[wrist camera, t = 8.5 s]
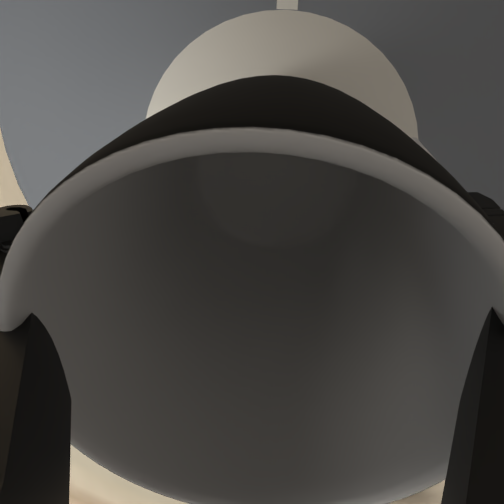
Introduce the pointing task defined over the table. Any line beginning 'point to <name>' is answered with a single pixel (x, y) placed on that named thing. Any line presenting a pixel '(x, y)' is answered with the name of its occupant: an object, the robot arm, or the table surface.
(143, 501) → the table surface
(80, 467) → the table surface
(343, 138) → the mug
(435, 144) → the flange base
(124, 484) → the table surface
